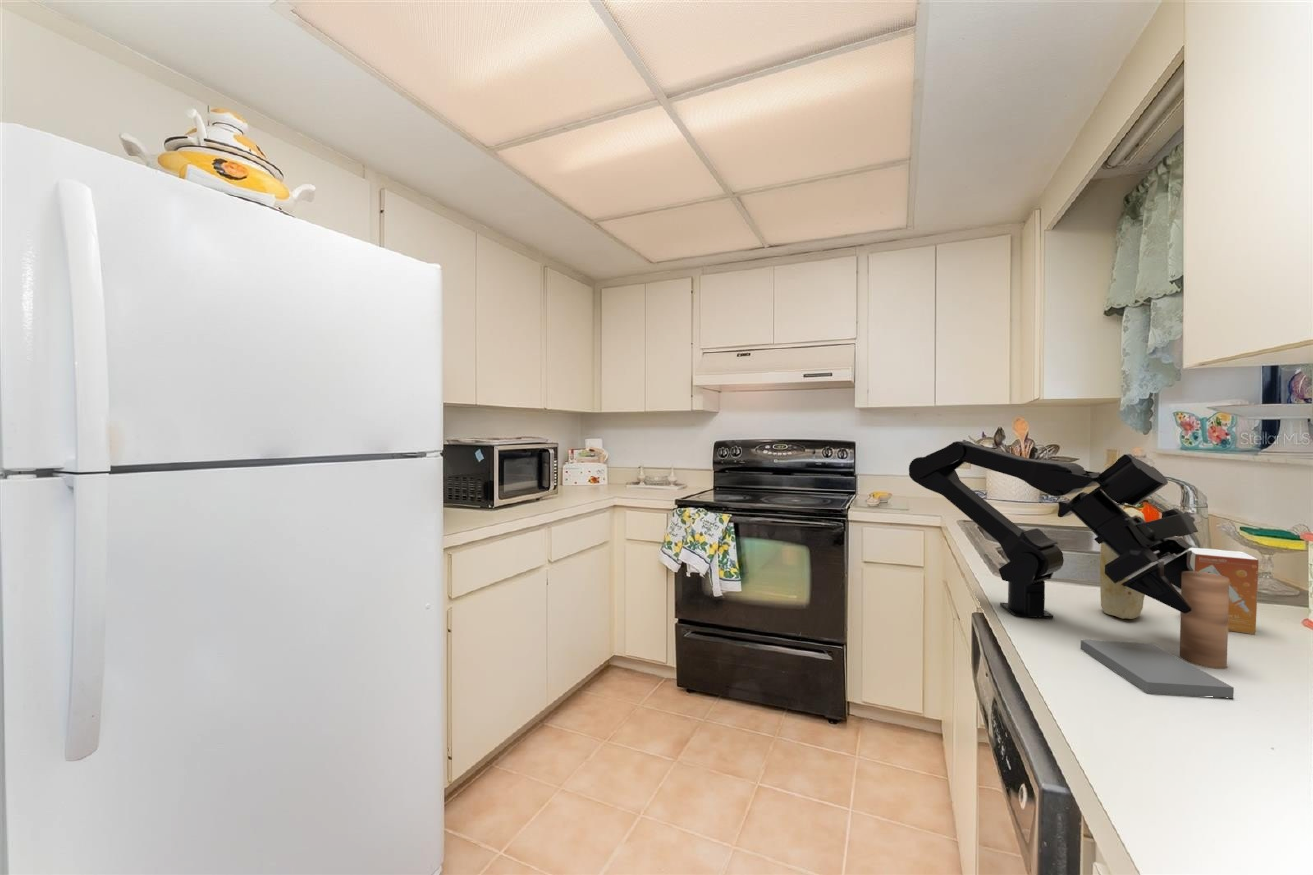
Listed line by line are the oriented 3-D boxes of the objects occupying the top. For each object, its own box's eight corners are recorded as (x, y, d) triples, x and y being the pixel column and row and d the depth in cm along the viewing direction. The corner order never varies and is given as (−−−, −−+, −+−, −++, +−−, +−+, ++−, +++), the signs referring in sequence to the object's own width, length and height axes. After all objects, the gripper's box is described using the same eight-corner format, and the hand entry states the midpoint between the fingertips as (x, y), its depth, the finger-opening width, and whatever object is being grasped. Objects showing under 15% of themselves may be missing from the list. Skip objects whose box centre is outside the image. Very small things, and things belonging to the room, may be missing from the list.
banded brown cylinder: (1170, 652, 84) (1172, 570, 83) (1207, 654, 83) (1209, 571, 82) (1197, 667, 79) (1200, 579, 78) (1236, 669, 78) (1239, 581, 77)
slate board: (1080, 648, 85) (1080, 639, 85) (1151, 652, 83) (1151, 643, 83) (1146, 693, 71) (1147, 682, 71) (1233, 698, 70) (1233, 687, 70)
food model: (1149, 627, 94) (1151, 514, 93) (1099, 618, 98) (1102, 510, 97) (1144, 611, 101) (1146, 506, 101) (1098, 604, 106) (1100, 503, 105)
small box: (1192, 626, 94) (1194, 553, 94) (1179, 615, 100) (1181, 545, 99) (1257, 635, 90) (1260, 559, 90) (1240, 623, 96) (1242, 550, 95)
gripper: (1131, 497, 80) (1236, 589, 71) (1175, 488, 90) (1272, 568, 81) (1069, 539, 87) (1157, 628, 78) (1115, 527, 97) (1199, 605, 88)
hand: (1199, 606), depth 81 cm, fingers open, 9 cm apart
